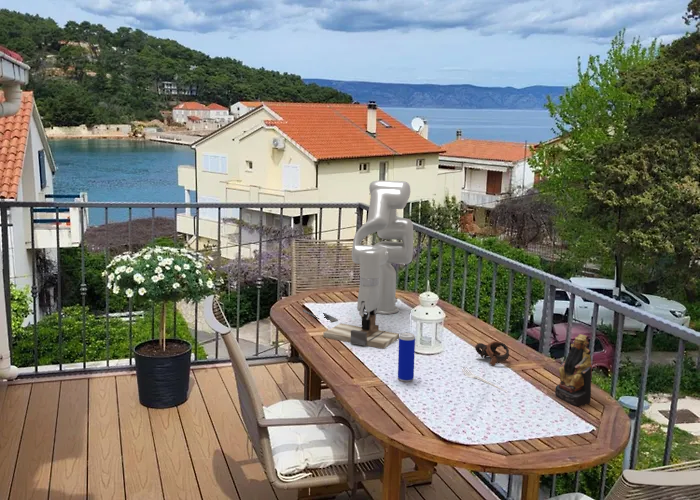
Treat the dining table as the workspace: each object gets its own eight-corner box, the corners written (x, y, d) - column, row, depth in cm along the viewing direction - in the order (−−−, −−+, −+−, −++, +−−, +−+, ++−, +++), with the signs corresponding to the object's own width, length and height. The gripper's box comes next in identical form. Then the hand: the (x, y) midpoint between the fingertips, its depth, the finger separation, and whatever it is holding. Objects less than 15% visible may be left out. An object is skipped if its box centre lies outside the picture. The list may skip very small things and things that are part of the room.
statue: (551, 394, 196) (555, 332, 193) (572, 391, 199) (577, 330, 195) (577, 410, 185) (582, 344, 181) (599, 406, 187) (604, 341, 184)
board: (341, 328, 259) (341, 323, 259) (399, 338, 247) (399, 333, 247) (323, 337, 247) (323, 332, 247) (383, 348, 235) (383, 343, 234)
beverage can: (415, 377, 208) (416, 333, 205) (411, 383, 203) (413, 338, 200) (399, 375, 209) (401, 331, 207) (395, 380, 204) (397, 336, 202)
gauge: (368, 332, 252) (368, 311, 250) (381, 335, 249) (382, 313, 248) (350, 343, 239) (350, 320, 238) (364, 345, 236) (365, 323, 235)
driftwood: (339, 322, 269) (339, 317, 268) (325, 324, 265) (325, 319, 265) (315, 311, 286) (315, 306, 286) (302, 313, 282) (302, 308, 282)
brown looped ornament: (506, 358, 228) (513, 343, 223) (502, 377, 221) (508, 362, 216) (474, 347, 231) (480, 332, 225) (469, 365, 224) (474, 350, 218)
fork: (504, 395, 196) (504, 390, 196) (459, 373, 212) (460, 368, 212) (511, 393, 198) (512, 388, 197) (466, 371, 214) (467, 366, 214)
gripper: (370, 276, 250) (369, 320, 254) (350, 284, 236) (349, 331, 239) (387, 278, 247) (386, 323, 250) (368, 287, 232) (367, 334, 236)
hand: (368, 327), depth 245 cm, fingers closed on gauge, 4 cm apart
